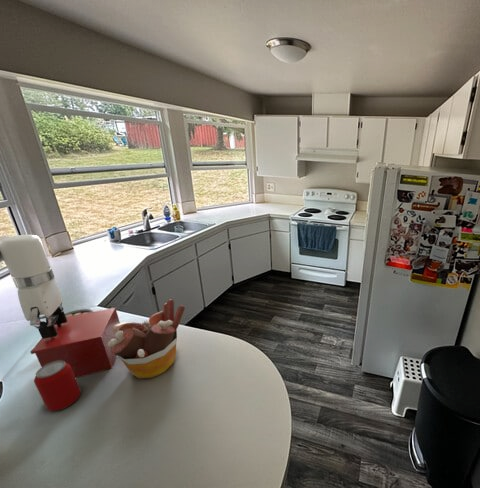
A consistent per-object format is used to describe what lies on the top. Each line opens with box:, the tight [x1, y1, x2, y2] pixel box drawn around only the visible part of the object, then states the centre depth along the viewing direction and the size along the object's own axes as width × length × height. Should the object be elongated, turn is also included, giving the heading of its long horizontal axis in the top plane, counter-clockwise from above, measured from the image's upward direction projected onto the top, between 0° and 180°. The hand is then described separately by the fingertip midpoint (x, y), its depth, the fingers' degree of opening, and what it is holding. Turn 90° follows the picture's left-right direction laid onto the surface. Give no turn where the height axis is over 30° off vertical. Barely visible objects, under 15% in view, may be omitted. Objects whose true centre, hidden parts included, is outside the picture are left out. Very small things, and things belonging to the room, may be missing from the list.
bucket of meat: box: [108, 298, 186, 379], centre depth 79 cm, size 20×16×20 cm
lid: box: [30, 307, 117, 355], centre depth 79 cm, size 15×17×6 cm
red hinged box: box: [34, 309, 121, 379], centre depth 82 cm, size 15×17×12 cm
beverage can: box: [33, 361, 82, 412], centre depth 67 cm, size 7×7×12 cm
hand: (55, 329), depth 77 cm, fingers closed on lid, 6 cm apart
